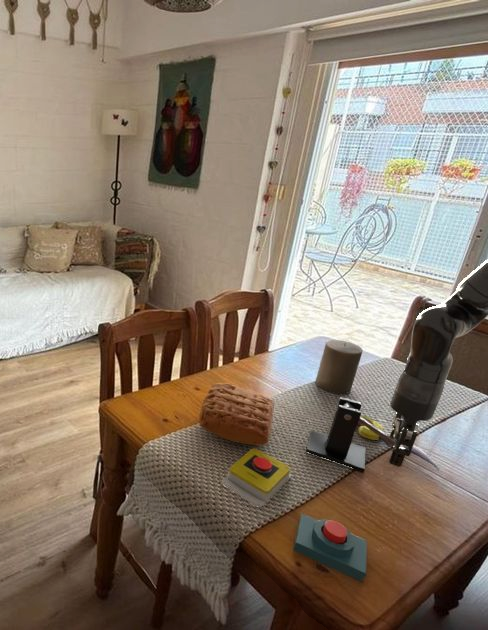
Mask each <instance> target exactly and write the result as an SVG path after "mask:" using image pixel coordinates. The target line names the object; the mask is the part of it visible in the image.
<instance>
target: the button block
mask: <svg viewBox="0 0 488 630" xmlns="http://www.w3.org/2000/svg"><path fill="white" fill-rule="evenodd" d="M327 521H332V520H331V519H319V520H318V519H316V518H314V517H311V516H309V515H308V514H307V515H306V514H304V513H301V514H300V517H299V520H298V525H297V530H296V535H295V539H294V545H293V550H292V551H294V552H296V553H298V554H300V555H302V556H304V557H306V558H309V559H311V560H313V561H314V562H317V563H320V564H322V565H324V566H326V567H328V568H331V569H333V570H335V571H337V572H339V573H341V574H344V575H346V576H348V577H350V578H352V579H354V580H357V581H358V582H362V583H363V582H364V581H365V580H364V579H365V578H366V575H367V555H368V553H367V551H368V541H367V539H364V538H362V537H359V536H358V535H357V536H356V535H355V534H353V533H351V531H350V530H349V529H348V528H346V527H345V529H346V530H347V537H346V539H345V542H344V543H342V544H336V543H333V542H331V541H329V540H328V539H327V538H326V537H325V536H324V535H323V528H324V525H325V523H326V522H327Z"/></svg>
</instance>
